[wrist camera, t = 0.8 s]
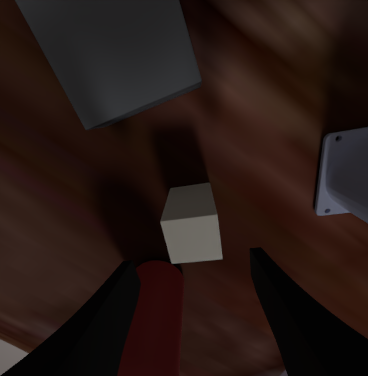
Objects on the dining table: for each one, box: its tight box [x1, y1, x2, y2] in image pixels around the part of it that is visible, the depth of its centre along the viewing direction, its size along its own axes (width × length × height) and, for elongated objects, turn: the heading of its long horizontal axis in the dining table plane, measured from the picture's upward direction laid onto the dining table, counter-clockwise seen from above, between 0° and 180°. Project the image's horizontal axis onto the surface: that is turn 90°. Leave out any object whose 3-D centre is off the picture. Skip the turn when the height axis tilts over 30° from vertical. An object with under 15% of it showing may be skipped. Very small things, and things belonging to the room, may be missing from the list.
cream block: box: [160, 183, 223, 264], centre depth 16 cm, size 4×4×6 cm
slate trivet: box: [15, 0, 202, 130], centre depth 12 cm, size 9×9×3 cm
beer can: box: [117, 260, 184, 376], centre depth 17 cm, size 7×7×12 cm
